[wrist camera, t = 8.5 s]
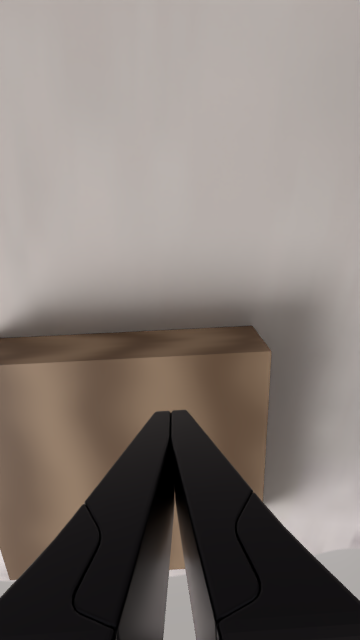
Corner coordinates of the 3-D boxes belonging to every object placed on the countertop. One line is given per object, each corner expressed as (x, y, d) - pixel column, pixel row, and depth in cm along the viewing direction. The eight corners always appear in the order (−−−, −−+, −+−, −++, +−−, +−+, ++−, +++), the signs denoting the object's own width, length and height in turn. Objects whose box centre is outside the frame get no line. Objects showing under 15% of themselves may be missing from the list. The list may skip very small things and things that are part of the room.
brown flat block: (252, 325, 20) (271, 351, 16) (245, 511, 25) (259, 563, 22) (-14, 339, 20) (-57, 368, 16) (34, 524, 25) (9, 580, 21)
